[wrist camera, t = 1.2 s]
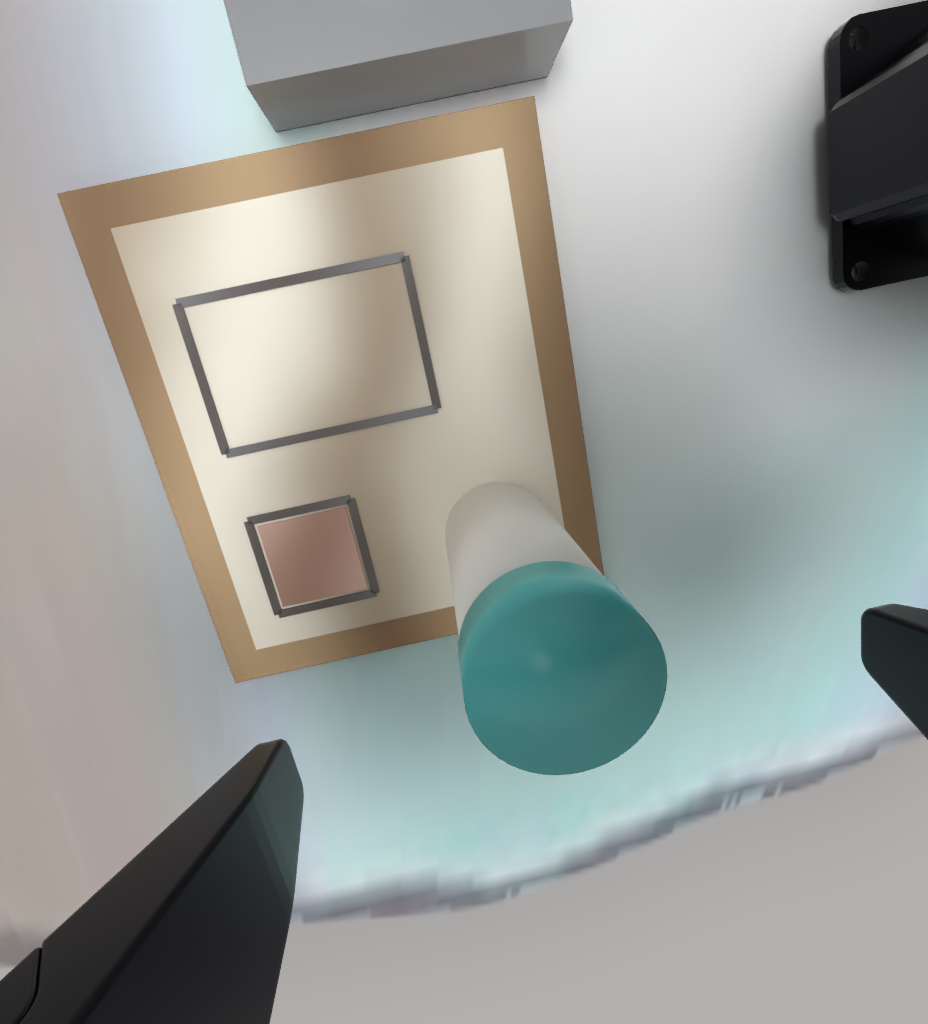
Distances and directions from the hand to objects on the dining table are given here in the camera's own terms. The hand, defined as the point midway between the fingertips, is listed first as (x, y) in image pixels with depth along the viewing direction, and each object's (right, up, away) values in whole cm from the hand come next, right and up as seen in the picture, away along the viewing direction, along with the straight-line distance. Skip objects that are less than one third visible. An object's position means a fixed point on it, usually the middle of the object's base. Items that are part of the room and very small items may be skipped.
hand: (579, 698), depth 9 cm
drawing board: (-5, +5, +8) cm, 10 cm away
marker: (-1, +2, +8) cm, 9 cm away
